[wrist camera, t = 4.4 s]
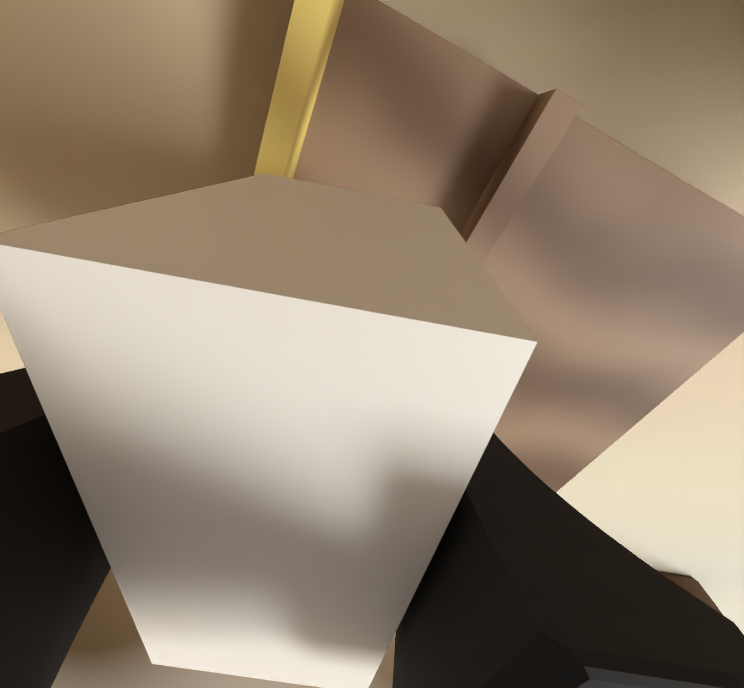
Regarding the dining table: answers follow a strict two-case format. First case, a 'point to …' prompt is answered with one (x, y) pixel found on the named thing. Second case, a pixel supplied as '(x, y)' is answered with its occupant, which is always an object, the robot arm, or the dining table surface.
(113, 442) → the label carton
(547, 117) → the shelf board
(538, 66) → the dining table surface
